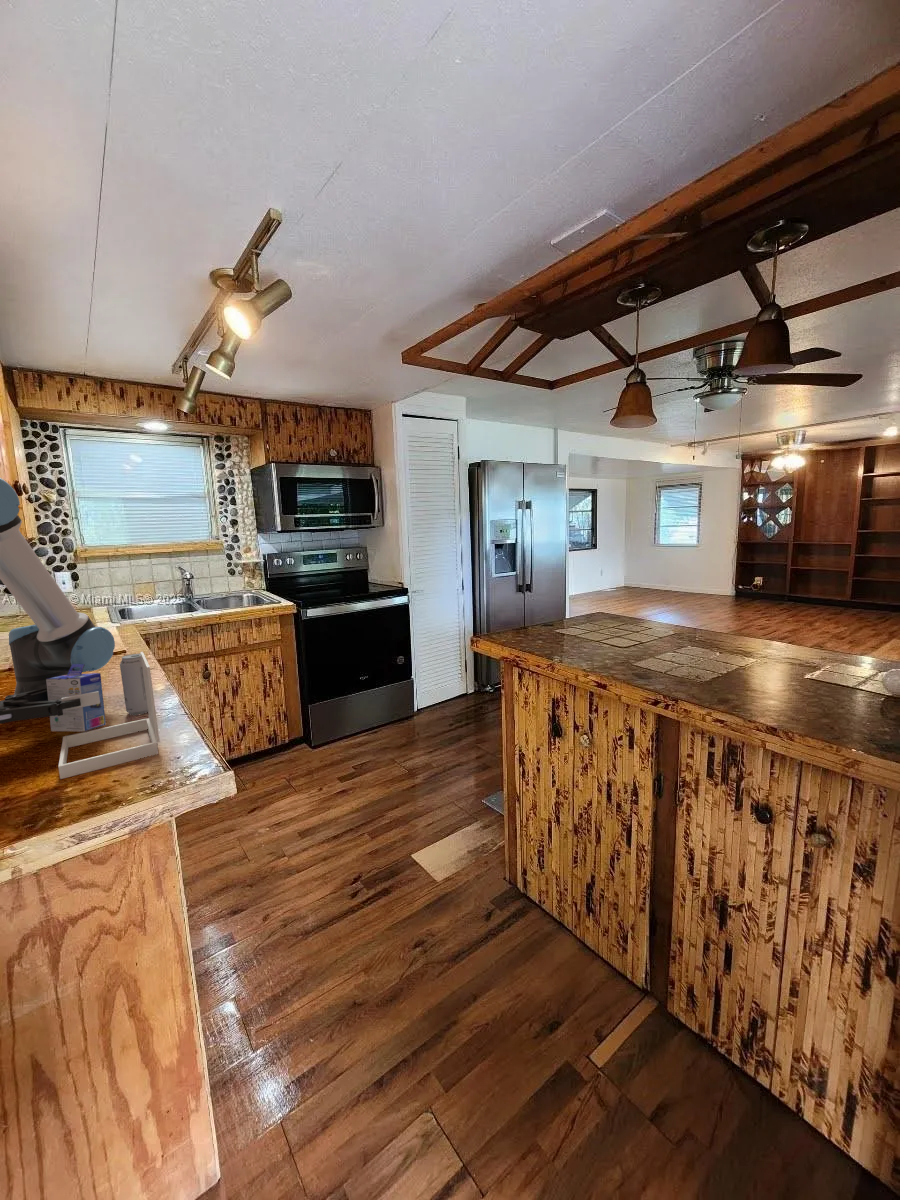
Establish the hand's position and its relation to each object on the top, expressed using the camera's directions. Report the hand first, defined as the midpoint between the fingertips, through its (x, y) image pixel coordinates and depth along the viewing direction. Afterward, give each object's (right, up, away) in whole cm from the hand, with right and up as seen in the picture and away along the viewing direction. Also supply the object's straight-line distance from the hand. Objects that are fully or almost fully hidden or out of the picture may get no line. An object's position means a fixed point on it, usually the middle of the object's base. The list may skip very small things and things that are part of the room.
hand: (98, 691), depth 113 cm
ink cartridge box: (-3, -8, -2) cm, 9 cm away
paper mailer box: (+9, -11, -10) cm, 17 cm away
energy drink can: (+1, -8, +14) cm, 16 cm away
